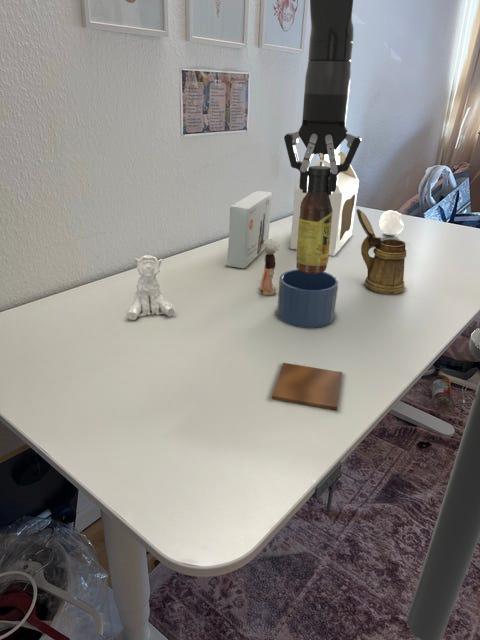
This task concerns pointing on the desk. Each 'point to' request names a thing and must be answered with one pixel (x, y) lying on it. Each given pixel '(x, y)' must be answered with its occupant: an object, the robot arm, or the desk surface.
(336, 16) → the robot arm
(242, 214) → the skincare box
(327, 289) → the blue cup
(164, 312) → the sitting furry creature
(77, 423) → the desk surface
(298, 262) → the sauce bottle
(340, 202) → the gable box
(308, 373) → the wooden coaster
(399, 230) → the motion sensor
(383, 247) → the wooden mug
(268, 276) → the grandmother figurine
